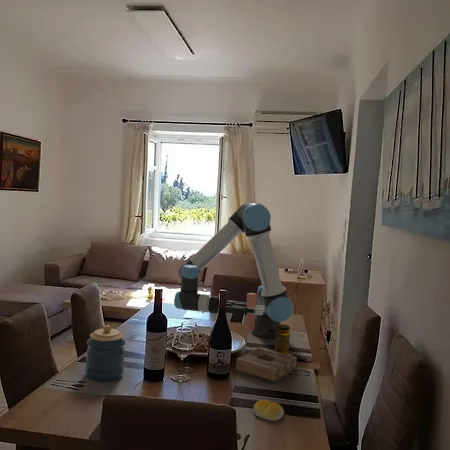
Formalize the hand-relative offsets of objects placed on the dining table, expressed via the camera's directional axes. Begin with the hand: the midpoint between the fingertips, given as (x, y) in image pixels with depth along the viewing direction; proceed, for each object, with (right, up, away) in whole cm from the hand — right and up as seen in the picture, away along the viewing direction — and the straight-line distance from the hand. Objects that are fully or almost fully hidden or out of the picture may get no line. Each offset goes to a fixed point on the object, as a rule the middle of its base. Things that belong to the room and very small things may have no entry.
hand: (263, 310), depth 198 cm
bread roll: (-3, -22, -54) cm, 59 cm away
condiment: (+7, -19, +1) cm, 20 cm away
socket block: (-1, -19, -19) cm, 27 cm away
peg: (-6, -8, +2) cm, 10 cm away
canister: (-58, -16, -34) cm, 69 cm away
